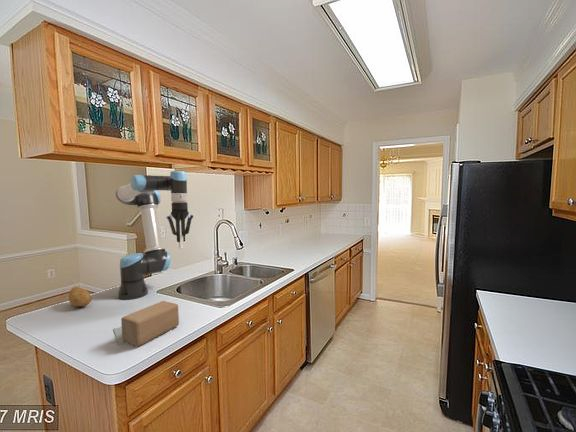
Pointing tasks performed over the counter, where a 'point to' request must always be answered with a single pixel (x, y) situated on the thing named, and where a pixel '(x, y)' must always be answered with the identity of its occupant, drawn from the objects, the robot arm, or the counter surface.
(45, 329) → the counter surface
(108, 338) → the counter surface
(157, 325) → the wooden block
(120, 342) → the mat
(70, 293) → the potato
